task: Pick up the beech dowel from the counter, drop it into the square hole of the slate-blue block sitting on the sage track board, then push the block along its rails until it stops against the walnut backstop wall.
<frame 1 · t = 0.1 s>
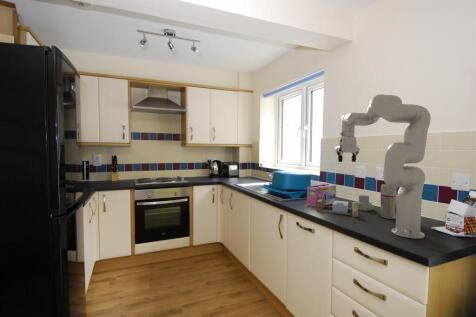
hand: (347, 161, 160), 31 cm above the worktop, tool pointing down, fingers open, 9 cm apart
block: (340, 206, 156), point 4 cm above the worktop, slide at 0.0 cm
spray can: (388, 217, 146), on the worktop
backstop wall: (320, 210, 162), resting on track board
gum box: (321, 205, 177), on the worktop
track board: (334, 212, 158), on the worktop
air freshener: (363, 211, 162), on the worktop
dowel: (354, 218, 144), on the worktop
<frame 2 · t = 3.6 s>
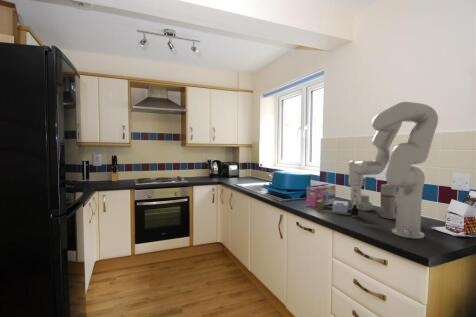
hand: (354, 214, 144), 2 cm above the worktop, tool pointing down, fingers closed on dowel, 3 cm apart
dowel: (354, 218, 144), on the worktop, touching gripper
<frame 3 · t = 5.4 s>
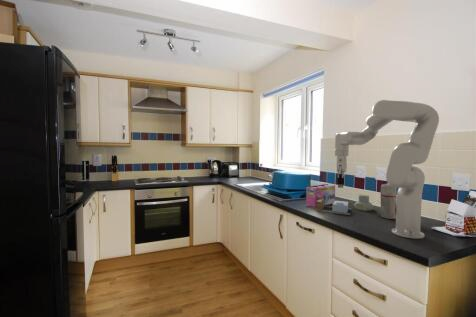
hand: (340, 183, 153), 18 cm above the worktop, tool pointing down, fingers closed on dowel, 3 cm apart
dowel: (340, 187, 153), point 16 cm above the worktop, touching gripper
everything else where it was.
when the fingers open (7 cm above the worktop, at t = 7.7 s): dowel drops 4 cm, resting on track board.
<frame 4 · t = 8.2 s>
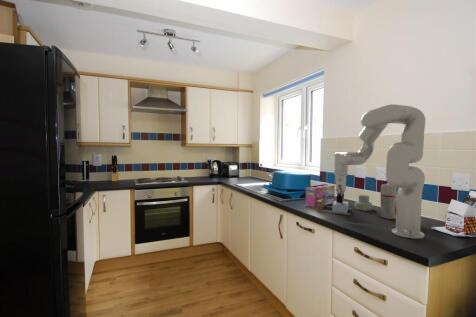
hand: (340, 201, 153), 8 cm above the worktop, tool pointing down, fingers open, 8 cm apart
dowel: (340, 212, 153), point 1 cm above the worktop, touching track board
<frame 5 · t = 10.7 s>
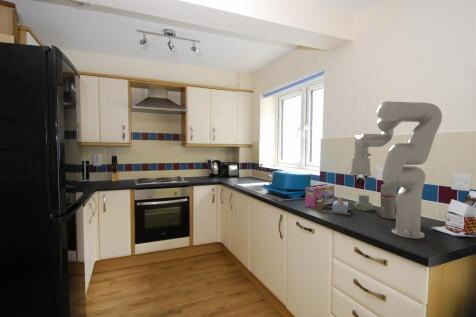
hand: (360, 185, 154), 17 cm above the worktop, tool pointing down, fingers closed
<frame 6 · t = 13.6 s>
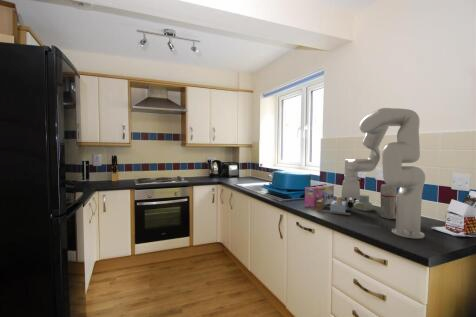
hand: (350, 208, 157), 3 cm above the worktop, tool pointing down, fingers closed
block: (338, 206, 157), point 4 cm above the worktop, slide at 1.1 cm, touching gripper
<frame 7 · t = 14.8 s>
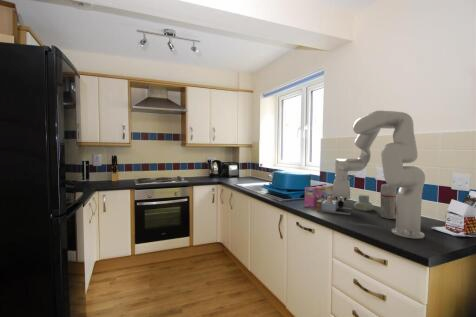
hand: (340, 207, 159), 3 cm above the worktop, tool pointing down, fingers closed
block: (329, 205, 159), point 4 cm above the worktop, slide at 6.5 cm, touching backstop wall, dowel, gripper
dowel: (329, 211, 156), point 1 cm above the worktop, touching block, track board
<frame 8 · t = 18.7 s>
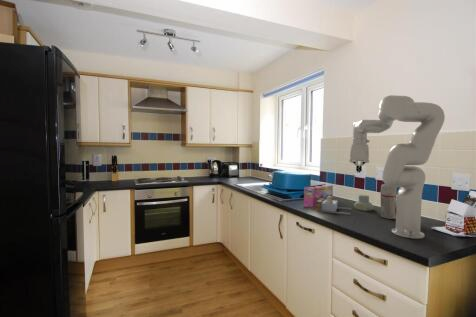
hand: (358, 172, 154), 25 cm above the worktop, tool pointing down, fingers closed
block: (329, 205, 159), point 4 cm above the worktop, slide at 6.4 cm
dowel: (329, 211, 156), point 1 cm above the worktop, touching track board
at the end: block slide at 6.4 cm; dowel 0.6 cm from the target spot on the block, point 0.0 cm above the block's base; dowel tilted 0° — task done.
